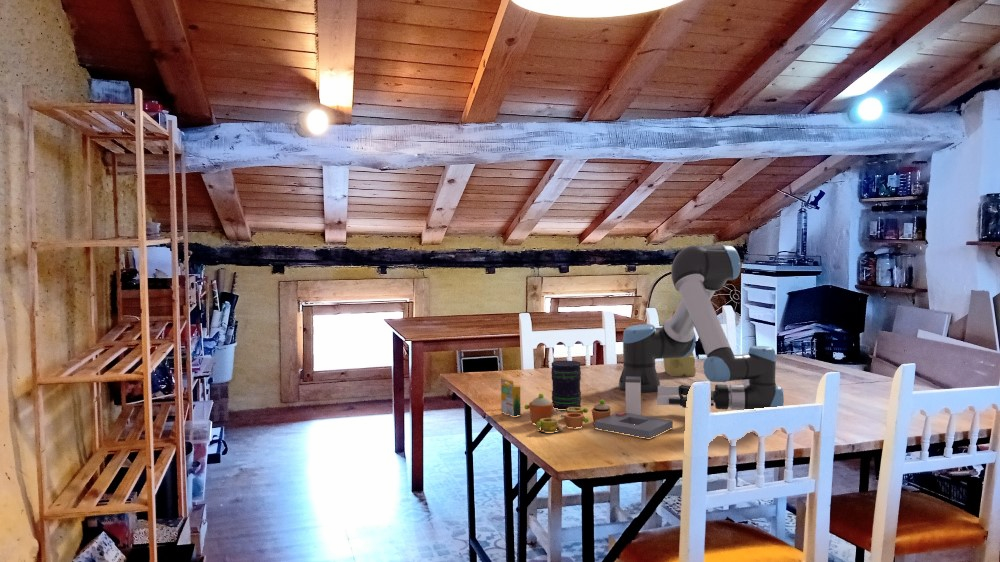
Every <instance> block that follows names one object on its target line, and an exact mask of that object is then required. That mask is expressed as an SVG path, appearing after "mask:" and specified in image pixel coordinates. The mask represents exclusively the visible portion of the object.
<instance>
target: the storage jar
mask: <svg viewBox="0 0 1000 562" xmlns="http://www.w3.org/2000/svg"><path fill="white" fill-rule="evenodd" d="M581 369H582V368H581V362H580V361H576V360H557V361H552V362H551V372H550V373H551V381H552V391H551V402H552V403H553V407H554V408H558V409H567V408H568V407H581V408H582V405H581V404H582V391H581V379H582V376H581V375H582V371H581Z"/></svg>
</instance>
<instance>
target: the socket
mask: <svg viewBox="0 0 1000 562" xmlns="http://www.w3.org/2000/svg"><path fill="white" fill-rule="evenodd" d="M673 421H674V420H671V419H666V418H659V417H655V416H654V417H653V416H647V415H642V414H641V415H637V414H631V413H626V411H625V412H624V411H617V412H615V413H612V414H610V416H608V417H604V418H601V419H599V420H596V421H594V422H593V424H594V423H595V424H594V429H595V428H598V429H602V430H608V431H614V432H619V433H624V434H630V435H634V436H639V437H645V438H651V437H653V436H656V435H658V434H660V433H662V432H664V431H666V430H668V429H670V428H673V425H674V424H673V423H674V422H673ZM634 424H635V425H634ZM673 429H674V428H673Z"/></svg>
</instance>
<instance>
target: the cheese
mask: <svg viewBox="0 0 1000 562" xmlns="http://www.w3.org/2000/svg"><path fill="white" fill-rule="evenodd" d="M695 364H696V358H695V356H694V351H693V352H692V353H691V354H690V355H688V356H685V357H681V358H663V367H664V372H665V373H667V375H669V376H670V377H682V376H686V377H695V376H696V375H697V374H696V372H697V370H696V366H695Z"/></svg>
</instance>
